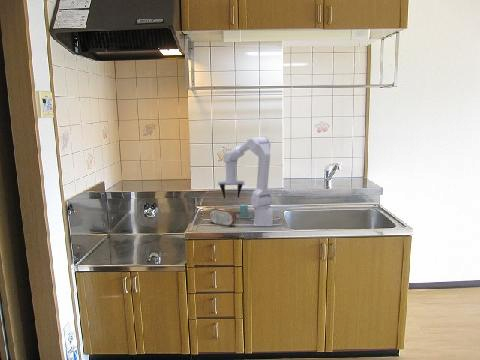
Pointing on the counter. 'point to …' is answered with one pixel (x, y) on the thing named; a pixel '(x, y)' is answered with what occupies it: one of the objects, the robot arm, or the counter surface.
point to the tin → (222, 216)
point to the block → (243, 210)
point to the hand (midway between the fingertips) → (231, 197)
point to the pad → (243, 217)
